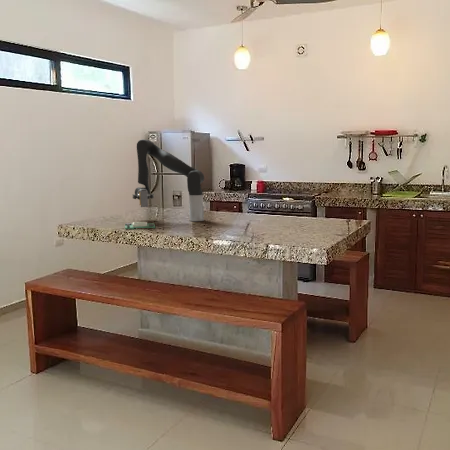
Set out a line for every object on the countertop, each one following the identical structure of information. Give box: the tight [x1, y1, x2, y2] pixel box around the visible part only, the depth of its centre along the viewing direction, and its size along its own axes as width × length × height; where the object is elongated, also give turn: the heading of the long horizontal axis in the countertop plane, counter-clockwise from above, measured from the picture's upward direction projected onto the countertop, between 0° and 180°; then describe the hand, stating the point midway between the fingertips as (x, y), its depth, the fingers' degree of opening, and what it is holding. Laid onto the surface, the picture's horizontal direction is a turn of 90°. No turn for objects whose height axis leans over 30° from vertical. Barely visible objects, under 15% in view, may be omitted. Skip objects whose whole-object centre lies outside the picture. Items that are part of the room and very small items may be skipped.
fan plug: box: [139, 189, 149, 208], centre depth 319 cm, size 5×4×11 cm
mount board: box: [124, 221, 156, 230], centre depth 314 cm, size 18×14×3 cm
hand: (143, 197), depth 317 cm, fingers closed on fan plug, 5 cm apart
